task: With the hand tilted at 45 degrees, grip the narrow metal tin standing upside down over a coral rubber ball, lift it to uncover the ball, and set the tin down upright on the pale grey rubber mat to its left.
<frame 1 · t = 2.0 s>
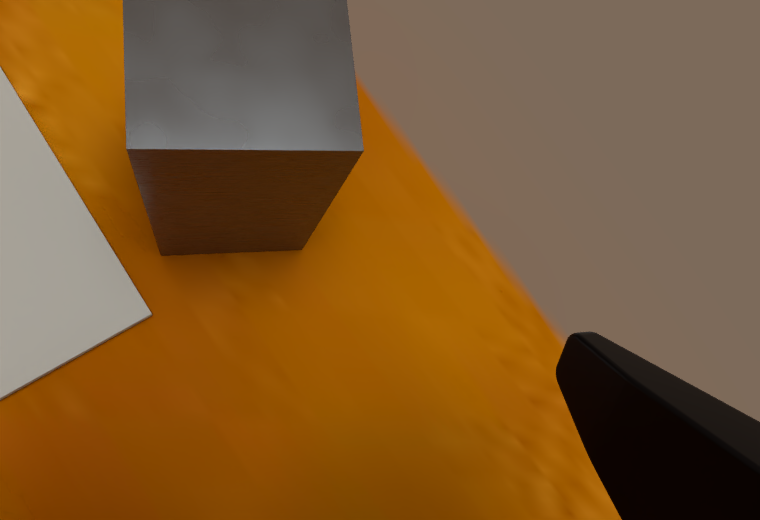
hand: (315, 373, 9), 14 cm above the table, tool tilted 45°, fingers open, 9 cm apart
tin: (230, 187, 23), on the table
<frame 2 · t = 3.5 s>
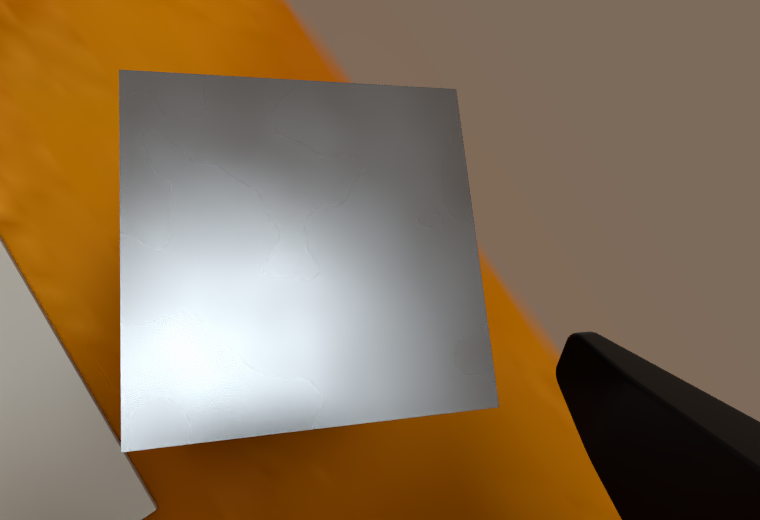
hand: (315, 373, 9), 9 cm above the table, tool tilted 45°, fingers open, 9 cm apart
tin: (259, 323, 18), on the table
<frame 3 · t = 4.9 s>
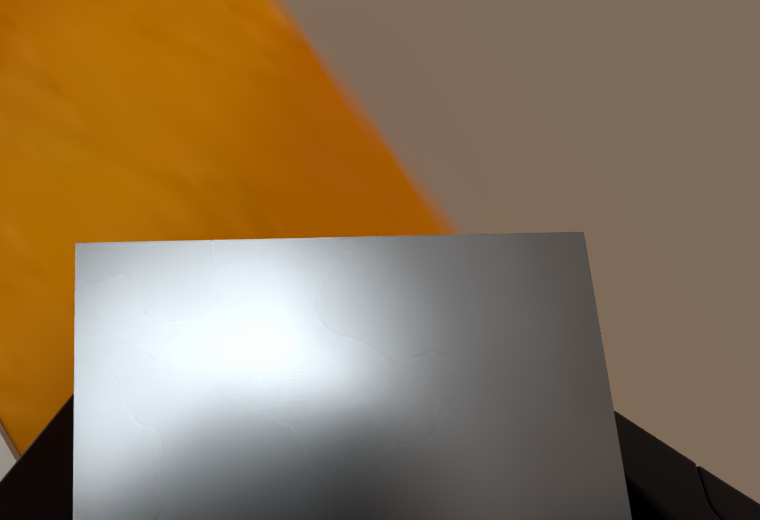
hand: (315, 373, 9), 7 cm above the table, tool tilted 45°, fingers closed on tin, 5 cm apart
tin: (274, 436, 15), on the table, touching gripper
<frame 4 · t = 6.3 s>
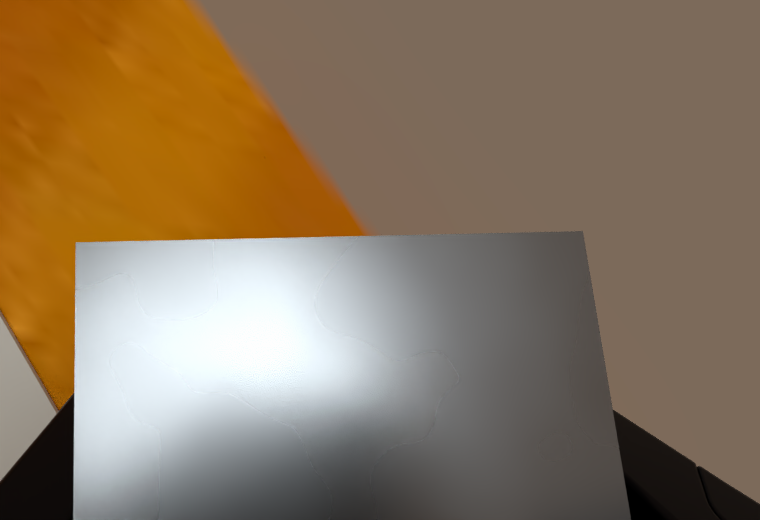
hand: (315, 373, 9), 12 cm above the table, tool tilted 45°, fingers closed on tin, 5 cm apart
tin: (274, 435, 15), point 6 cm above the table, touching gripper
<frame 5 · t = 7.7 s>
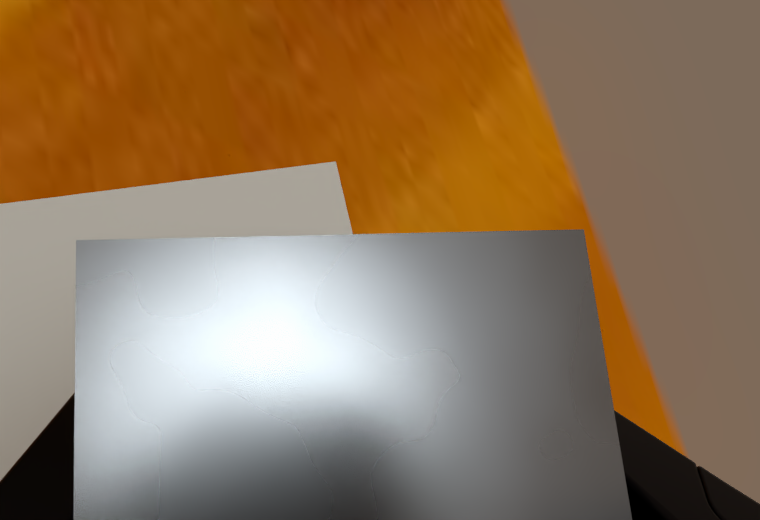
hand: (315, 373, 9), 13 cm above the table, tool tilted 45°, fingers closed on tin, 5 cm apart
tin: (274, 435, 15), point 7 cm above the table, touching gripper
mat: (196, 396, 21), on the table
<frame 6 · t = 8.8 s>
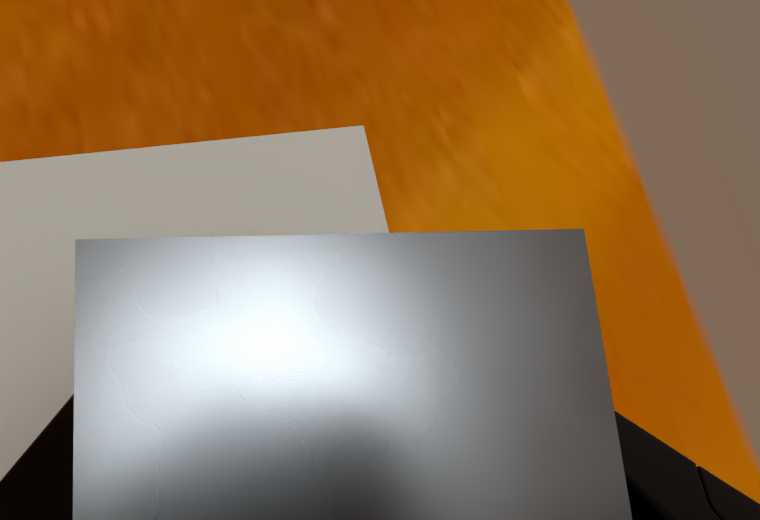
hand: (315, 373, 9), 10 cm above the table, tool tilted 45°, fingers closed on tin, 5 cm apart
tin: (274, 435, 15), point 3 cm above the table, touching gripper
mat: (202, 395, 18), on the table
when the fingers open (8 cm above the table, at t = 9.5 s): tin drops 2 cm, resting on mat.
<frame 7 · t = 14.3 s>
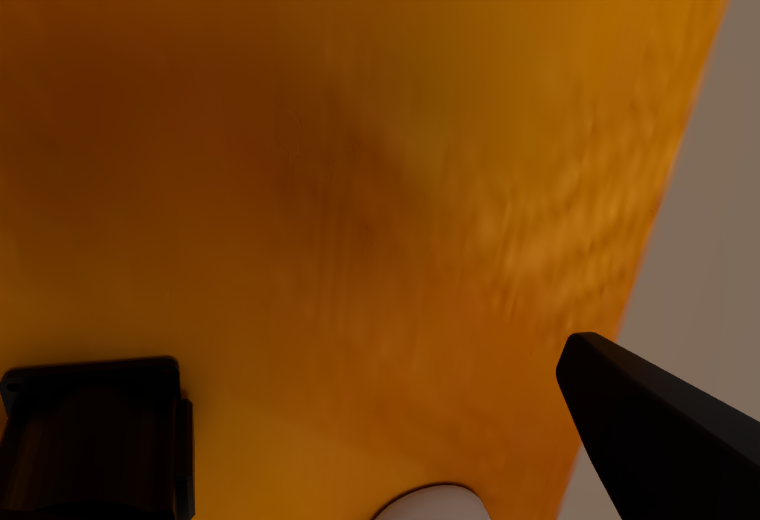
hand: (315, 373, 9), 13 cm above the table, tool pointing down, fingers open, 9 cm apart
milk bottle: (422, 518, 36), on the table
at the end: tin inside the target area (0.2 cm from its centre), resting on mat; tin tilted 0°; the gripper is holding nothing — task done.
